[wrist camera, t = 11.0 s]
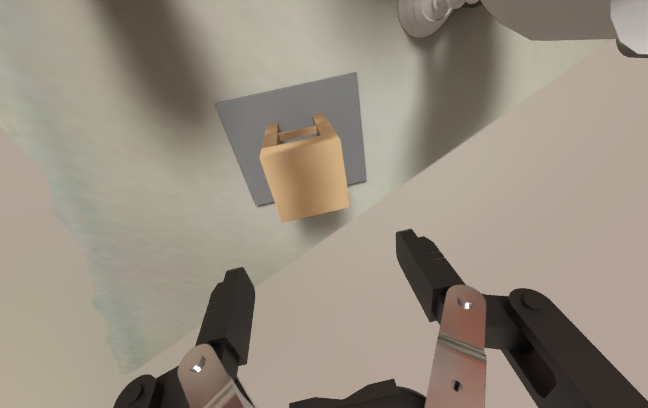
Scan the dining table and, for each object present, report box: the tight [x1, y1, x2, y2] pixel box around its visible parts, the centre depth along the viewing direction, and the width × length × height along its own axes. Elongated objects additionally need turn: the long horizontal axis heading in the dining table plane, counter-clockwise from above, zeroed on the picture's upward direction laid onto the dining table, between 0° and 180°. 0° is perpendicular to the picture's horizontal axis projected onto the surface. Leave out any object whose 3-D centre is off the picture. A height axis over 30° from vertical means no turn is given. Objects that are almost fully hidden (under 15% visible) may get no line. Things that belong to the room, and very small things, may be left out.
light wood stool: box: [259, 113, 350, 223], centre depth 23 cm, size 6×6×9 cm
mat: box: [215, 72, 367, 206], centre depth 27 cm, size 14×12×1 cm
